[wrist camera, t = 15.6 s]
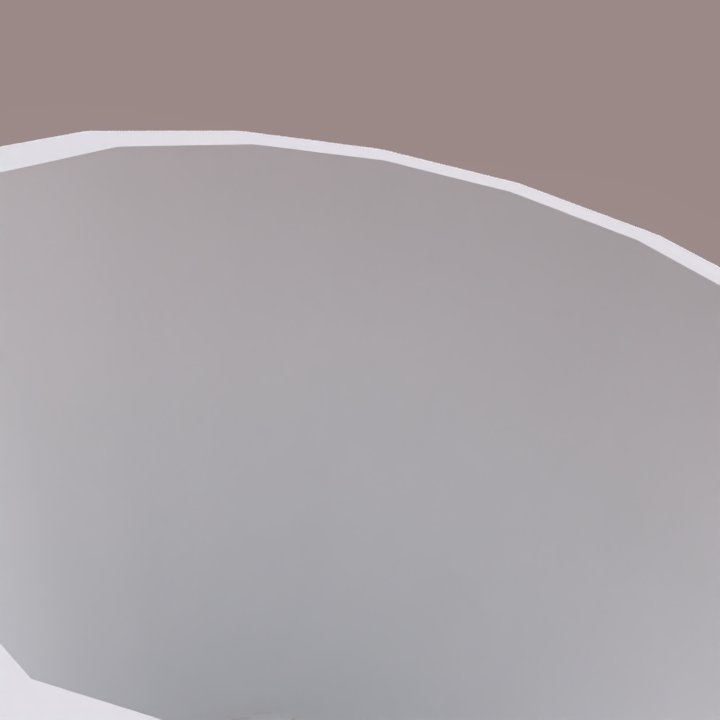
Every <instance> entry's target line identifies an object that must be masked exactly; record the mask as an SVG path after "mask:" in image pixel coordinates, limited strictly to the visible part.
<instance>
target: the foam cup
mask: <svg viewBox="0 0 720 720" xmlns="http://www.w3.org/2000/svg"><path fill="white" fill-rule="evenodd" d="M0 720H720V267H718V266H717V265H715V264H713V263H711V262H709V261H707V260H705V259H703V258H701V257H699V256H697V255H696V254H694V253H692V252H690V251H688V250H686V249H684V248H682V247H680V246H679V245H677V244H675V243H673V242H671V241H669V240H667V239H665V238H663V237H661V236H660V235H657V234H654V233H652V232H649V231H646V230H644V229H641V228H638V227H636V226H633V225H630V224H627V223H625V222H622V221H619V220H617V219H614V218H611V217H609V216H606V215H603V214H600V213H598V212H595V211H592V210H590V209H587V208H584V207H581V206H579V205H576V204H574V203H571V202H568V201H565V200H563V199H560V198H557V197H554V196H552V195H549V194H547V193H544V192H541V191H539V190H536V189H533V188H530V187H528V186H525V185H522V184H519V183H516V182H512V181H508V180H504V179H500V178H496V177H492V176H488V175H484V174H480V173H475V172H472V171H468V170H464V169H460V168H455V167H451V166H447V165H443V164H439V163H435V162H431V161H427V160H423V159H419V158H415V157H411V156H407V155H403V154H399V153H395V152H391V151H387V150H383V149H376V148H369V147H361V146H353V145H345V144H337V143H330V142H322V141H315V140H307V139H299V138H291V137H283V136H276V135H268V134H260V133H253V132H245V131H84V132H78V133H73V134H67V135H62V136H56V137H50V138H45V139H39V140H34V141H28V142H23V143H17V144H12V145H6V146H1V147H0Z"/></svg>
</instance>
